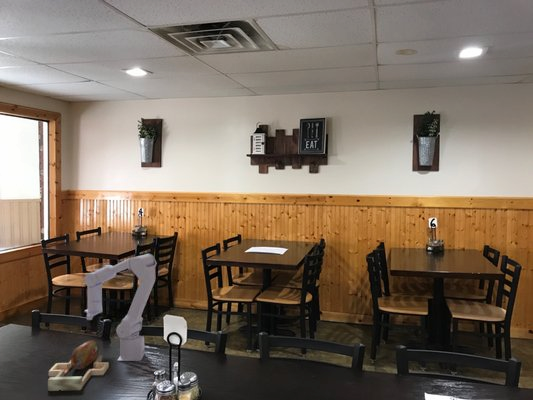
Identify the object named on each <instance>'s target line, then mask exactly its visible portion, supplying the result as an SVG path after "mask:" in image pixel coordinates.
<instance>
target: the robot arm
mask: <svg viewBox="0 0 533 400" xmlns="http://www.w3.org/2000/svg"><path fill="white" fill-rule="evenodd" d="M157 264H158V262H157V261H156V258H155V257H154V255H153V254H151V253H145V254H141V255H138V256H134V257H129V258H126V259H125V260H123V261H120V262H118V263H117V264H115V265H111V264H105V265H102V267H101V268H99V269H98V268H97V269H95V270H94V271H93V272H88V273H87V274H85V276H84V278H83V279H84V280H83V282H84V283H85V285H86V286H87V309H85V310H84V313H86V320H87V321H88V323H89V326H90V329H91V333H95V332H98V330H99V328H100V323H101V319H102V317H103V315H104V313H103V291H102V289H103V284H104V282H107V281H110V280H111V279H113V278H115V277H116V276H117V273H119V272H122V271H125V270H127V269H128V270H129V271H130V270H131V271H132V272H133V274H134V275H135V276H136V278H137V279H139V280H140V282H139V285H138V287H137V289H136V292H135V294H134V297H133V299H132V302H131V305H130V307H129V310H128V311H127V314H126V315H125V317H123V318H122V320H121V322H120V323H119V324H118V325H117V327H116V335H117V337H119V340H120V347H119V348H120V350H119V351H120V355H119V357H118V359H117V362H141V361H142V359H143V357H144V356H145V352H146V351H145V337H144V336H143V335H140V331H141V330H142V328H143V320H144V318H143V317H142V314H143V312H144V309H145V307H146V305H147V301H148V299H149V297H150V294H151V292H152V290H153V287H154V284H155V282H156V278H157V277H156V267H157Z"/></svg>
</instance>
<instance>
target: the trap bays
mask: <svg viewBox="0 0 533 400" xmlns="http://www.w3.org/2000/svg"><path fill="white" fill-rule="evenodd" d="M68 363H69V362H56V363H55V364H54V365H53V366H52V367H51V368H50V369H49V370H48V377H56V376H57V375H58V374H59V372H60V371H61V370H65V375H66V374H67V372H68V371H70V369H71V368H67V364H68ZM109 365H110V364H109V361H106V362H105V361H103V362H102V361H101V362H97V363H96V368H91V369H92V370H91V376H104V374H105V373H106V372H107V370H108V369H109Z"/></svg>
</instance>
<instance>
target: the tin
mask: <svg viewBox="0 0 533 400" xmlns="http://www.w3.org/2000/svg"><path fill="white" fill-rule="evenodd" d="M99 347H100V346H99V343H98V342H97V340H87V341H85V342H84V343H82V344H80V345H79V346H77V347H76V348H75V349H74V350H73V351H72V353H71V356H70V360H71V364H72V367H71V368H73V370H74V369H75V370H83V369H85V368H86V367H87V366H89V365H90V364H92V363H94V362H95V361H96V360H97V358H98V357H99V351H100V350H99Z"/></svg>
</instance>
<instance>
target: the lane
mask: <svg viewBox="0 0 533 400" xmlns="http://www.w3.org/2000/svg"><path fill="white" fill-rule="evenodd" d="M102 361H103V355H102V354H101V355H98V356H97V358H96V359H95V361H93V362H92V363H93V365H92V366H93V368H96V363H97V362H102ZM67 363H68V364H67V368H70V369H71V368H73V367H72V364H71V359H70V360H69V362H67ZM93 368H89V369H88V370H87V371H86V372H85V374H84V376H81V375H80V376H65V375H66V374H65V370H61V371H60V372H59V374H58V375H57V376H49V378H48V379H47V391H48V392H55V391H56V392H57V391H58V392H59V390H61V391H62V392H63V391H81V390H82V389H83V387H84V386H85V384H86V383H87V382H88V380H89V379H90V377H91V376H92V375H91V370H92V369H93ZM61 391H60V392H61Z"/></svg>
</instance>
